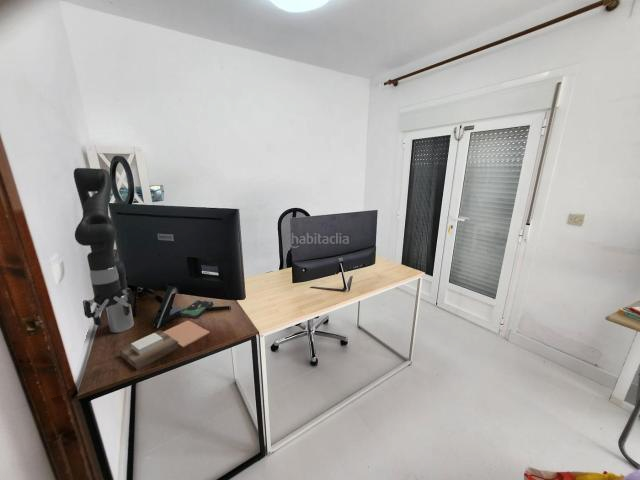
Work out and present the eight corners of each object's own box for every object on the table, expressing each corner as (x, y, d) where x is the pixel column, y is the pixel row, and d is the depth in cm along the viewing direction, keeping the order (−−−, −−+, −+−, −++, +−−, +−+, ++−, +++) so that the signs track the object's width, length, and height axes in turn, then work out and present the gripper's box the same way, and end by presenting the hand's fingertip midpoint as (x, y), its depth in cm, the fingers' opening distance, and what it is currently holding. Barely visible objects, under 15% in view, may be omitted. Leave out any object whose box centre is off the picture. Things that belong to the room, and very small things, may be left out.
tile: (131, 348, 105) (131, 343, 104) (155, 337, 112) (154, 332, 112) (139, 354, 101) (139, 349, 101) (163, 343, 108) (162, 338, 108)
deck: (120, 355, 105) (119, 348, 104) (161, 335, 118) (160, 330, 118) (137, 370, 97) (136, 363, 97) (178, 347, 110) (178, 341, 110)
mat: (161, 333, 120) (161, 332, 120) (188, 321, 130) (188, 320, 130) (182, 347, 110) (182, 346, 110) (209, 332, 121) (209, 331, 121)
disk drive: (197, 304, 149) (180, 317, 135) (197, 300, 148) (179, 312, 134) (213, 305, 148) (198, 319, 133) (213, 301, 147) (197, 314, 133)
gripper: (123, 271, 98) (130, 309, 102) (75, 283, 87) (84, 325, 91) (132, 275, 95) (139, 314, 99) (83, 288, 83) (92, 332, 87)
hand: (113, 319), depth 95 cm, fingers open, 8 cm apart
